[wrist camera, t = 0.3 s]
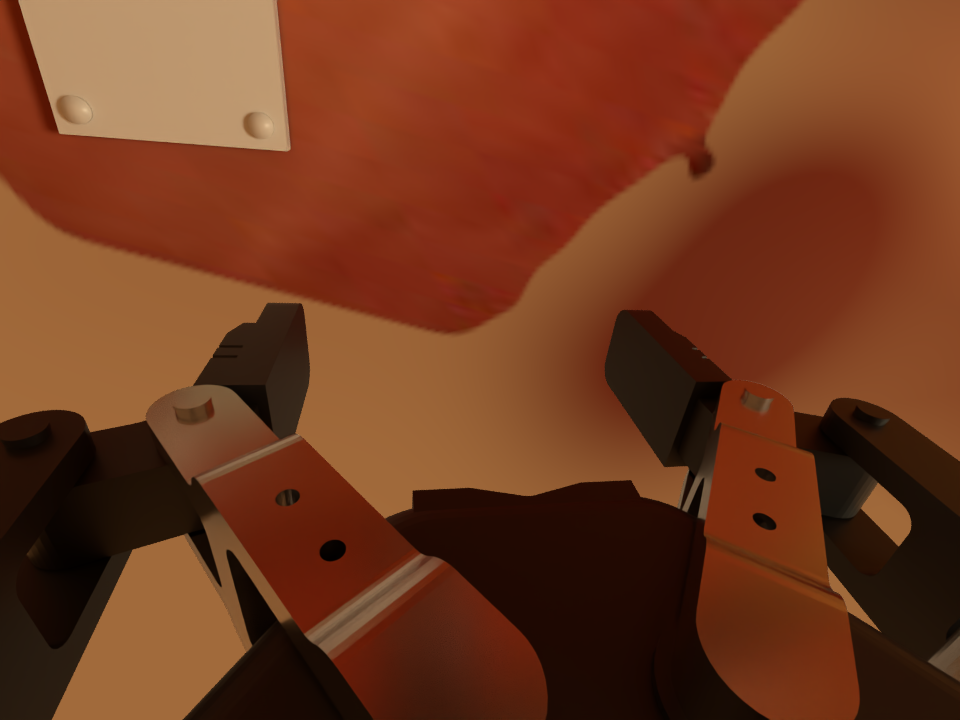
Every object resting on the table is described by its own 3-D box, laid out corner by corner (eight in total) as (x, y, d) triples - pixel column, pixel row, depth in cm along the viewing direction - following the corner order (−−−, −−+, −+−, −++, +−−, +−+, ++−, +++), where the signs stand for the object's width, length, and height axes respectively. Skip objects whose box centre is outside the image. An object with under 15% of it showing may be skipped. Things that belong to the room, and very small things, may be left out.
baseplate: (-18, -162, 25) (-42, -175, 24) (265, -114, 28) (259, -124, 26) (70, 131, 32) (55, 134, 31) (290, 149, 34) (286, 152, 33)
